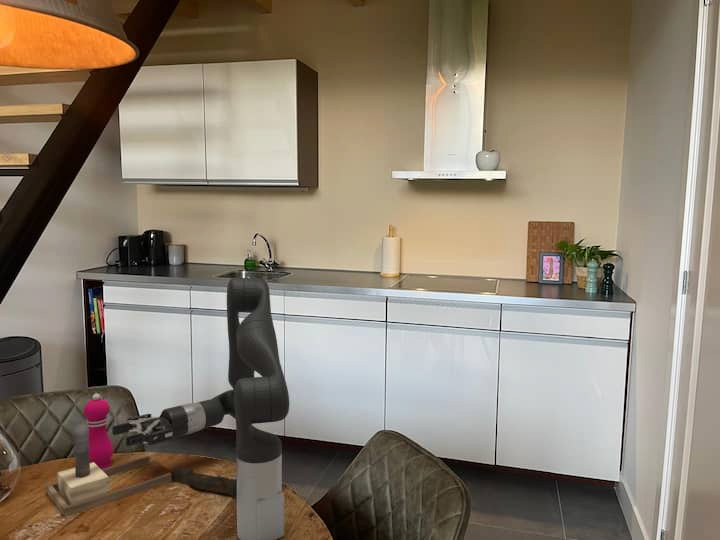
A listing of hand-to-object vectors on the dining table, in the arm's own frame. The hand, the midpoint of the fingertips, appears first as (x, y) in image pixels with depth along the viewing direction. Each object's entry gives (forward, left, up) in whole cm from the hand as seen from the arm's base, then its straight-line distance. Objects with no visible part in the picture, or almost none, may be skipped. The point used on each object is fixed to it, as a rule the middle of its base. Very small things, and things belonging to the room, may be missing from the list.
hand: (119, 436), depth 136 cm
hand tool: (-14, -14, -14) cm, 24 cm away
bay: (0, +2, -13) cm, 13 cm away
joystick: (0, +8, -12) cm, 14 cm away
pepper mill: (+14, 0, -13) cm, 19 cm away
